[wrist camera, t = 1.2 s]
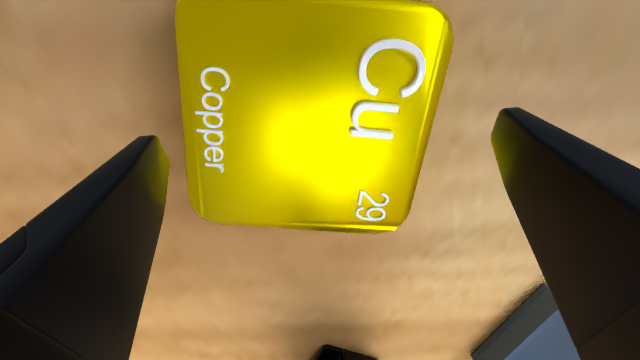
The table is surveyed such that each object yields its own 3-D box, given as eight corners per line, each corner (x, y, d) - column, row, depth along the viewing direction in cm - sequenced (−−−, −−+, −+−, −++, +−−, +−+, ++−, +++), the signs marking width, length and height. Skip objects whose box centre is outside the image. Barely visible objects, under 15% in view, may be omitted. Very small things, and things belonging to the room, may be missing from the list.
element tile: (193, -27, 21) (165, -30, 17) (439, 3, 22) (469, 6, 18) (204, 192, 28) (186, 228, 24) (391, 206, 29) (405, 242, 25)
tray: (581, 390, 43) (598, 414, 40) (470, 355, 39) (481, 380, 36) (660, 329, 38) (685, 353, 35) (543, 283, 34) (561, 306, 32)
